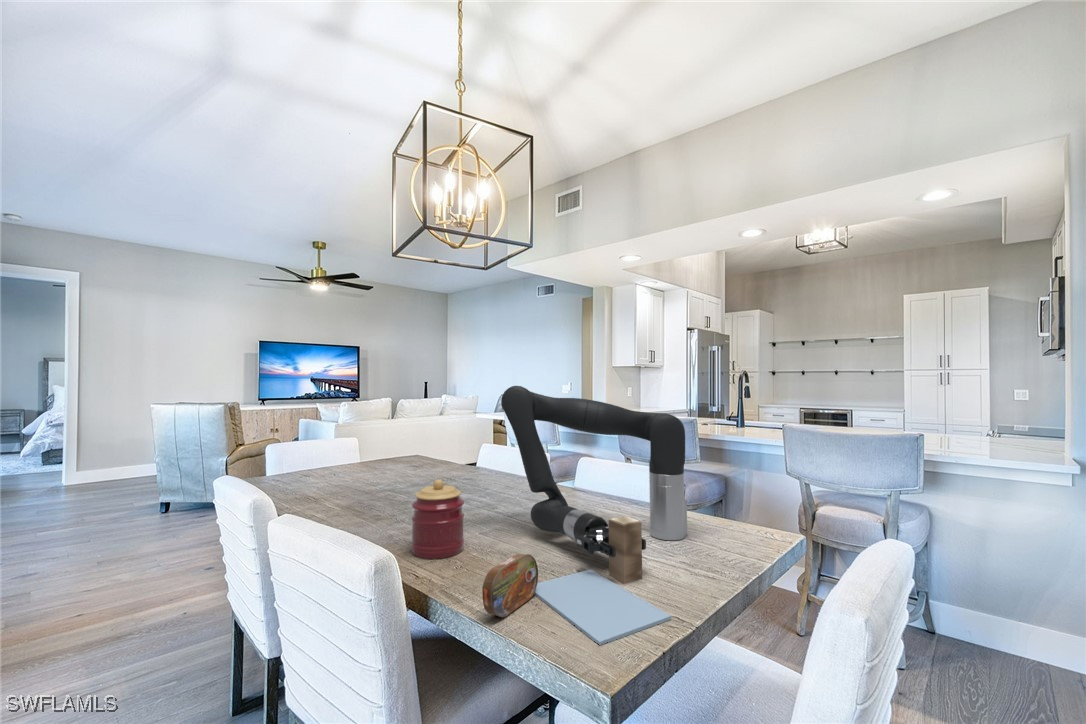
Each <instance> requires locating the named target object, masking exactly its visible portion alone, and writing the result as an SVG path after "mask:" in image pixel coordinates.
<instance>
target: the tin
mask: <svg viewBox="0 0 1086 724" xmlns="http://www.w3.org/2000/svg"><path fill="white" fill-rule="evenodd" d="M538 581H539V567H538V564H537V561H536V559H535V558H534V556H533V555H531V554H528V553H526V554H523V553H522V554H521V553H519V554H515V555H512V557H510V558H507V559H506V560H504V561H503V562H501V563H499V564H497V565H496V566H494V567H492V568H491V569H490V570H489V571H488V573H486V575H485V577H484V579H483V584H482V591H481V592H482V593H481V594H482V602H483V603H482V604H483V608H484V610H485V611H486V612H487V614H489V615H491V616H497V617H500V618H506V617H508V616H509V615H510V614H512V613H513V612H514V611H516V610H517V609H518V608H520V607H521V606H522V605H524V604H526V603H527V602H528V601H529V600H531V598H533V596H534V592H535V590H536V587H537V583H539V582H538Z"/></svg>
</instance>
